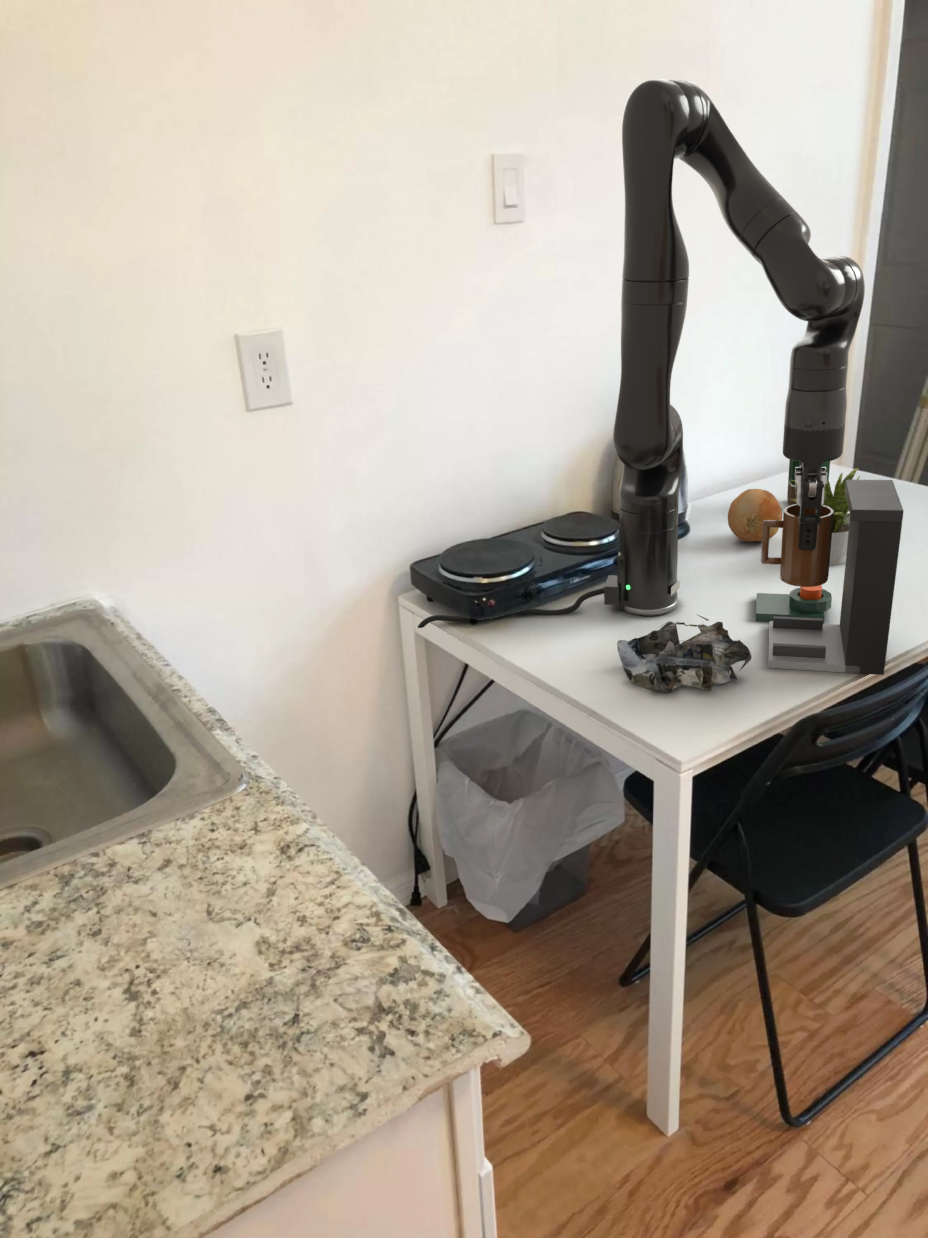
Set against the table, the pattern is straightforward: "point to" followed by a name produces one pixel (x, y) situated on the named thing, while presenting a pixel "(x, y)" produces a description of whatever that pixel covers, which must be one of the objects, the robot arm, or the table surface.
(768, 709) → the table surface
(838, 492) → the house plant
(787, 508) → the mug
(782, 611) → the block
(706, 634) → the foil
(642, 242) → the robot arm
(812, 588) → the button
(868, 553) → the coffee machine
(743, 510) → the onion
